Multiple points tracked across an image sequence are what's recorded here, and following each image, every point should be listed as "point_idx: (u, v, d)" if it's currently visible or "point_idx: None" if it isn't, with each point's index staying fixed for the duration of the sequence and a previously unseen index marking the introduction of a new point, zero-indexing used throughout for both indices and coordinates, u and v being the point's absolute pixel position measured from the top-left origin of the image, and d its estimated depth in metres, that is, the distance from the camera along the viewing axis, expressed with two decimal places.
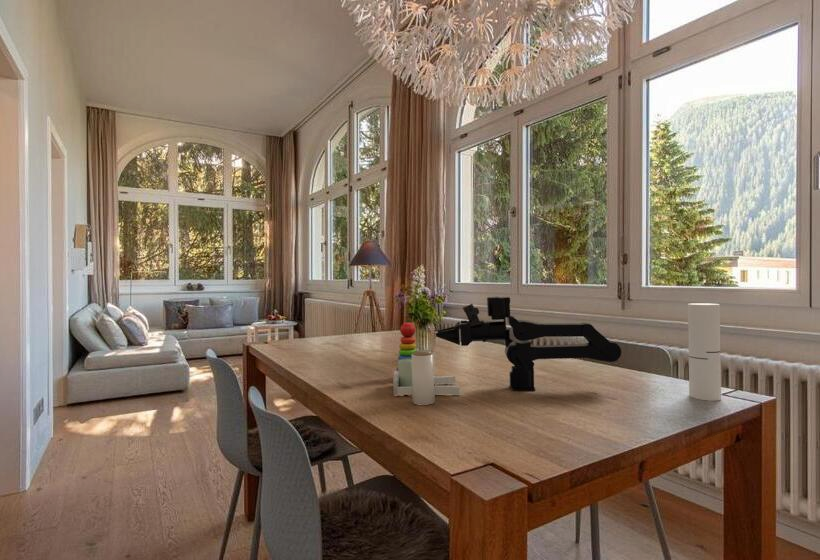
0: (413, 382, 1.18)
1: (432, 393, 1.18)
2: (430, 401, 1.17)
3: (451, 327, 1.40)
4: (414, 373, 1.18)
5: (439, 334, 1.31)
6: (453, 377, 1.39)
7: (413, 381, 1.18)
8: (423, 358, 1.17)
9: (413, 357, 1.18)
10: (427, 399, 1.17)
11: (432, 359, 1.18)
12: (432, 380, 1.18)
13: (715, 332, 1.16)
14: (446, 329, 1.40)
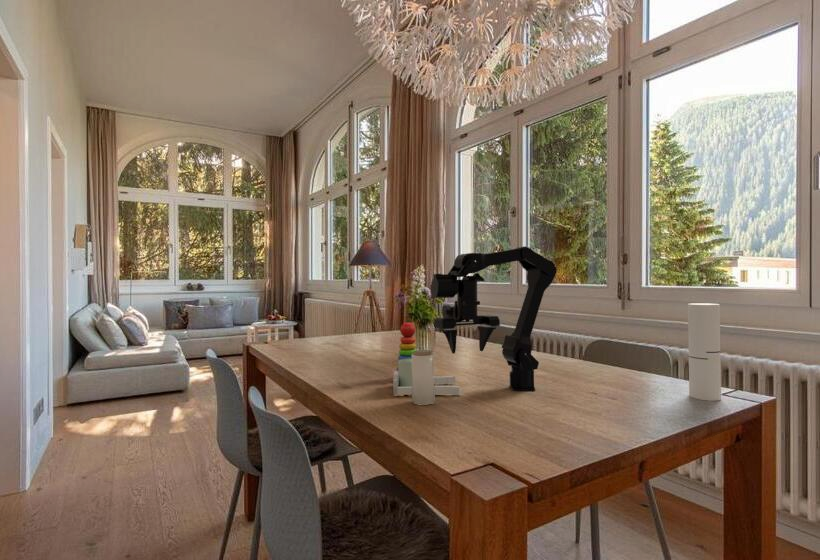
0: (413, 382, 1.18)
1: (432, 393, 1.18)
2: (430, 401, 1.17)
3: (479, 335, 1.30)
4: (414, 373, 1.18)
5: (451, 349, 1.25)
6: (453, 377, 1.39)
7: (413, 381, 1.18)
8: (423, 358, 1.17)
9: (413, 357, 1.18)
10: (427, 399, 1.17)
11: (432, 359, 1.18)
12: (432, 380, 1.18)
13: (715, 332, 1.16)
14: (479, 341, 1.30)
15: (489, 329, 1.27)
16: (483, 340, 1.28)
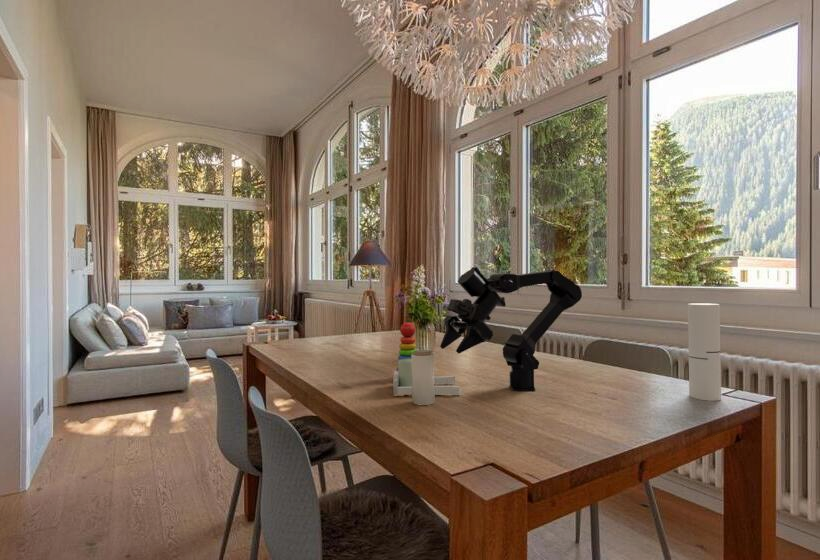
0: (413, 382, 1.18)
1: (432, 393, 1.18)
2: (430, 401, 1.17)
3: (447, 333, 1.28)
4: (414, 373, 1.18)
5: (460, 349, 1.19)
6: (453, 377, 1.39)
7: (413, 381, 1.18)
8: (423, 358, 1.17)
9: (413, 357, 1.18)
10: (427, 399, 1.17)
11: (432, 359, 1.18)
12: (432, 380, 1.18)
13: (715, 332, 1.16)
14: (445, 338, 1.28)
15: None
16: (450, 341, 1.28)
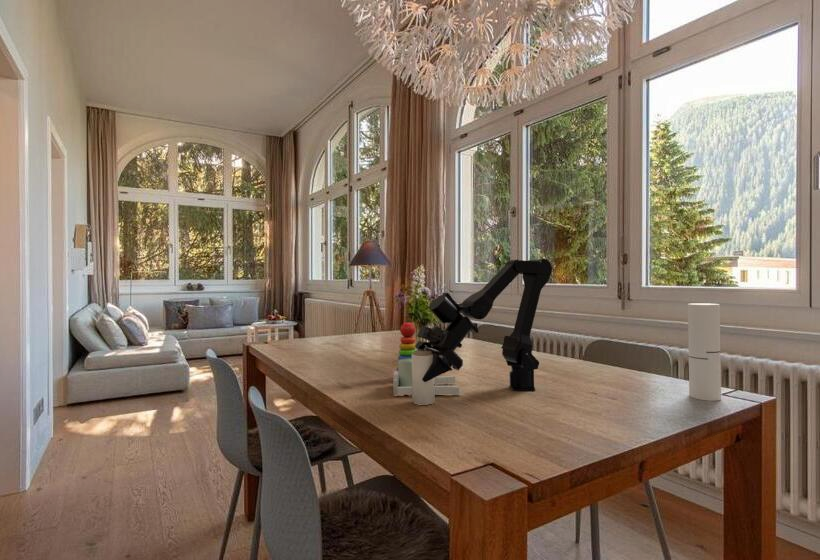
0: (413, 382, 1.18)
1: (432, 393, 1.18)
2: (430, 401, 1.17)
3: None
4: (415, 373, 1.18)
5: (426, 377, 1.16)
6: (453, 377, 1.39)
7: (413, 381, 1.18)
8: (423, 358, 1.17)
9: (413, 357, 1.18)
10: (427, 399, 1.17)
11: (432, 359, 1.18)
12: (432, 380, 1.18)
13: (715, 332, 1.16)
14: None
15: None
16: None
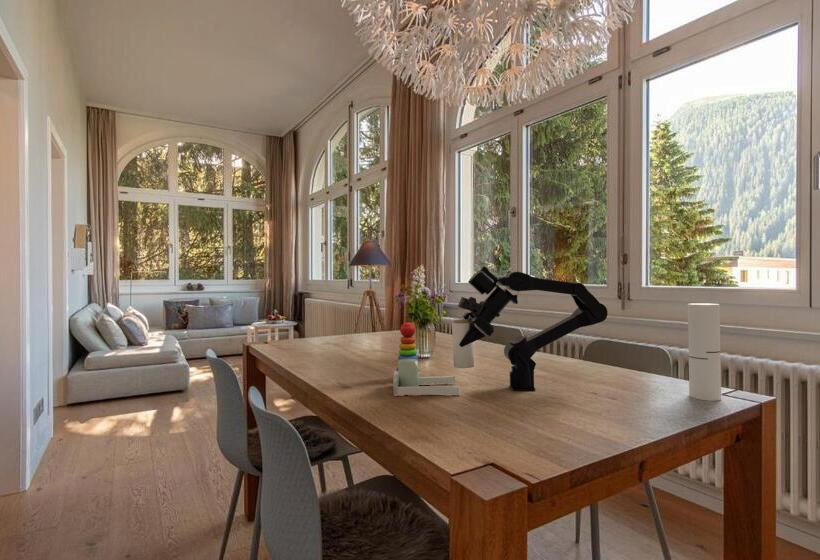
0: (453, 347, 1.32)
1: (469, 357, 1.30)
2: (467, 364, 1.29)
3: None
4: (453, 339, 1.31)
5: (462, 343, 1.28)
6: (453, 377, 1.39)
7: (453, 346, 1.32)
8: (460, 325, 1.29)
9: (452, 324, 1.31)
10: (465, 362, 1.29)
11: None
12: (470, 346, 1.30)
13: (715, 332, 1.16)
14: None
15: None
16: None
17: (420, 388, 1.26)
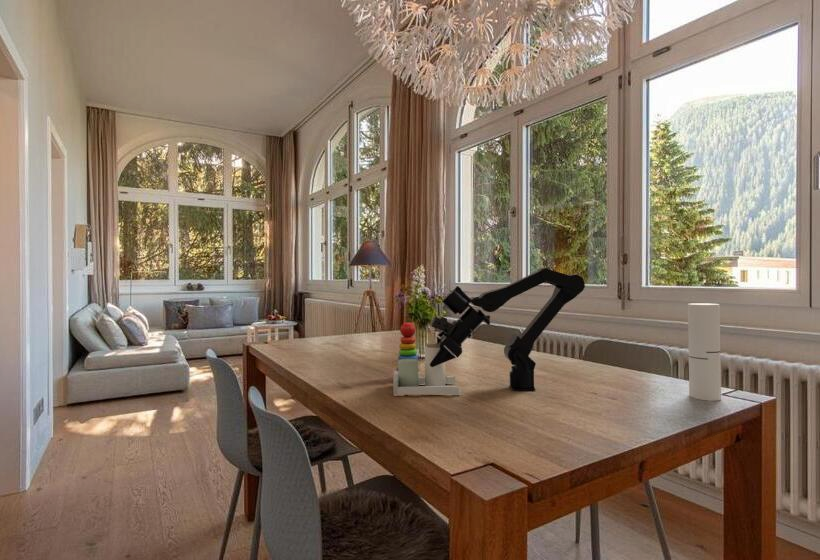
0: (425, 370, 1.33)
1: (440, 382, 1.30)
2: None
3: None
4: (425, 363, 1.32)
5: (433, 363, 1.28)
6: (453, 377, 1.39)
7: (425, 369, 1.33)
8: (431, 350, 1.30)
9: None
10: None
11: None
12: (441, 370, 1.30)
13: (715, 332, 1.16)
14: None
15: None
16: None
17: (420, 388, 1.26)
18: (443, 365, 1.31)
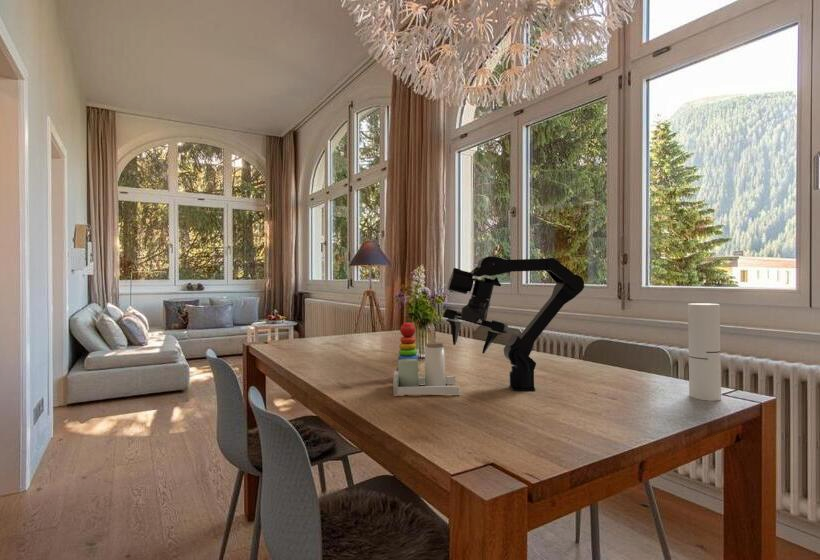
0: (425, 370, 1.33)
1: (440, 382, 1.30)
2: None
3: (455, 330, 1.33)
4: (425, 363, 1.32)
5: (485, 350, 1.30)
6: (453, 377, 1.39)
7: (425, 369, 1.33)
8: (431, 350, 1.30)
9: None
10: None
11: (441, 351, 1.30)
12: (441, 370, 1.30)
13: (715, 332, 1.16)
14: (455, 335, 1.34)
15: None
16: (457, 334, 1.35)
17: (420, 388, 1.26)
18: (443, 365, 1.31)
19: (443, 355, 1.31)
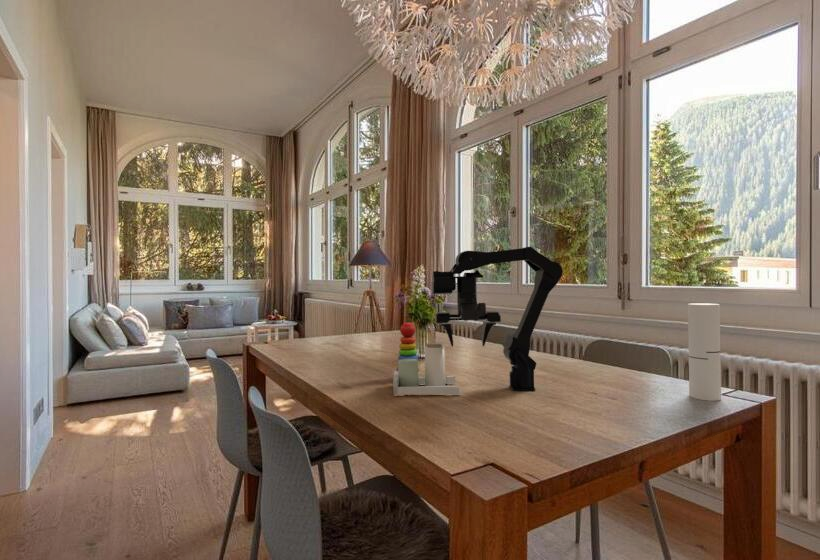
0: (425, 370, 1.33)
1: (440, 382, 1.30)
2: None
3: (451, 332, 1.31)
4: (425, 363, 1.32)
5: None
6: (453, 377, 1.39)
7: (425, 369, 1.33)
8: (431, 350, 1.30)
9: None
10: None
11: (441, 351, 1.30)
12: (441, 370, 1.30)
13: (715, 332, 1.16)
14: (452, 337, 1.31)
15: None
16: None
17: (420, 388, 1.26)
18: (443, 365, 1.31)
19: (443, 355, 1.31)
